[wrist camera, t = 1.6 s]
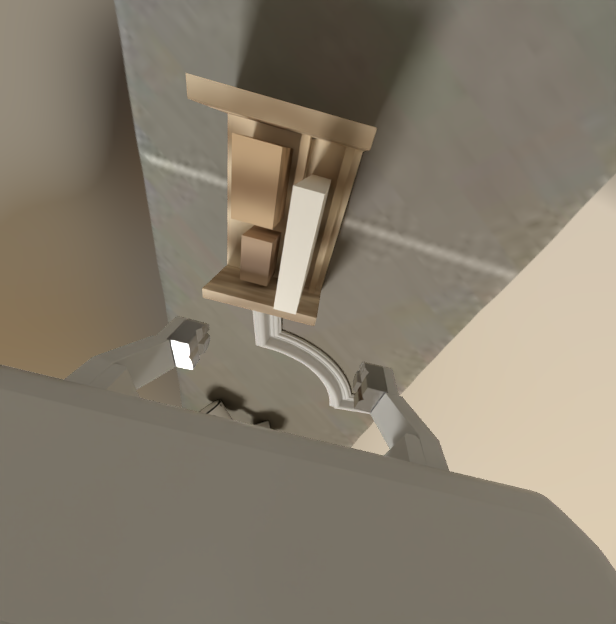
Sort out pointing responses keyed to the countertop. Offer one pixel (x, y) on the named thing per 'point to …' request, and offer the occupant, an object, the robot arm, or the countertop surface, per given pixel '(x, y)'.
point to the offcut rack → (305, 161)
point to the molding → (304, 358)
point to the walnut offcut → (259, 255)
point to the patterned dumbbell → (225, 412)
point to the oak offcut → (259, 180)
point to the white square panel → (300, 240)
